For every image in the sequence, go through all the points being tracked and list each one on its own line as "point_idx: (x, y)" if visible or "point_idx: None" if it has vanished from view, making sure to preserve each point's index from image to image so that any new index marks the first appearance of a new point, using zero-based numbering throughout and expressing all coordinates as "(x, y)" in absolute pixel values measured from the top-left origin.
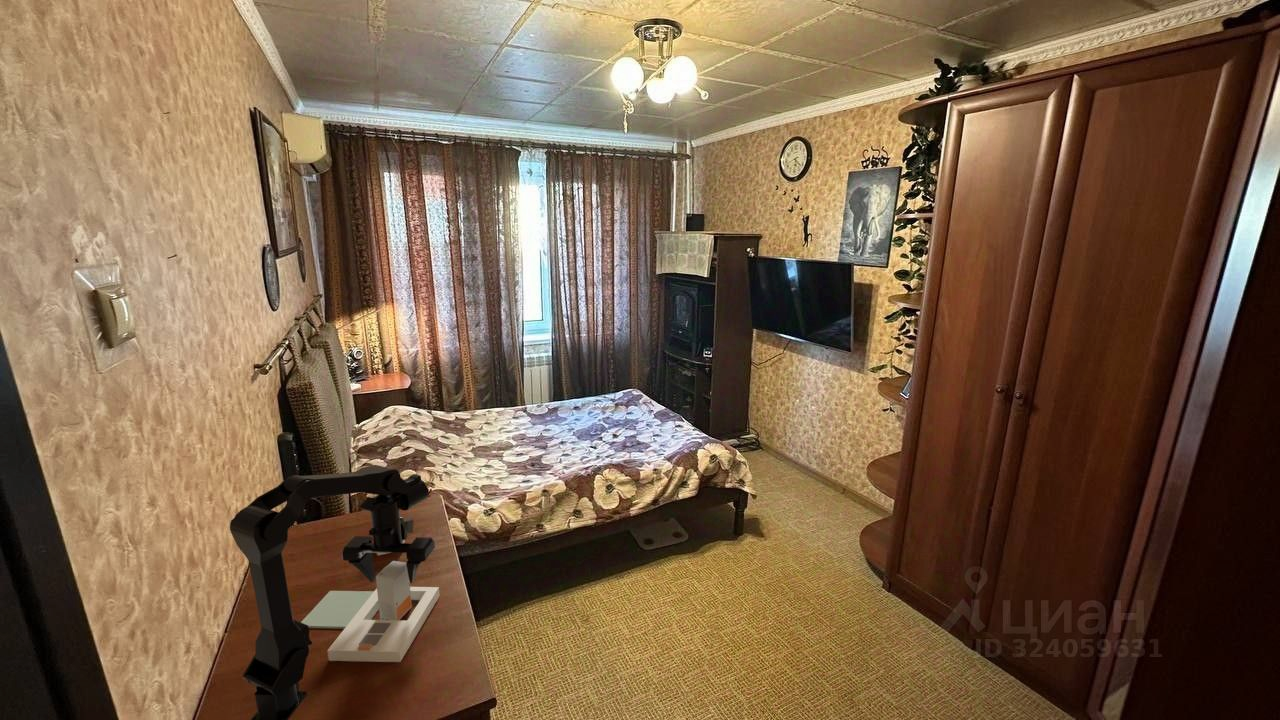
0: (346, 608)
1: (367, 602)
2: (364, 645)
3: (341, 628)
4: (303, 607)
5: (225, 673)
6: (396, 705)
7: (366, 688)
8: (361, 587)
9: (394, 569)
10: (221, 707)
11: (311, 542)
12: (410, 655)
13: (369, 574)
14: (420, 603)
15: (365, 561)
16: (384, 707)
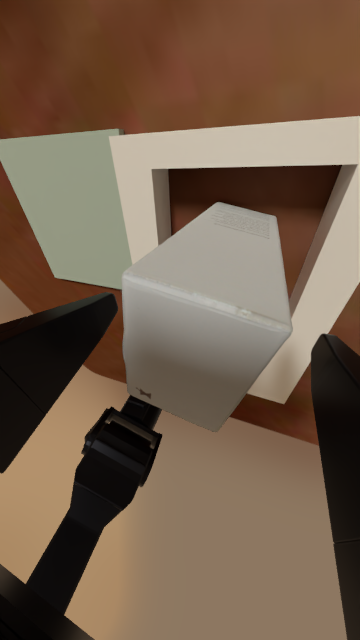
0: (92, 229)
1: (134, 243)
2: None
3: None
4: (9, 211)
5: None
6: (292, 434)
7: (239, 403)
8: (45, 88)
9: (199, 385)
10: (100, 374)
11: None
12: (301, 376)
13: (87, 349)
14: (326, 262)
15: (5, 423)
16: (275, 430)
